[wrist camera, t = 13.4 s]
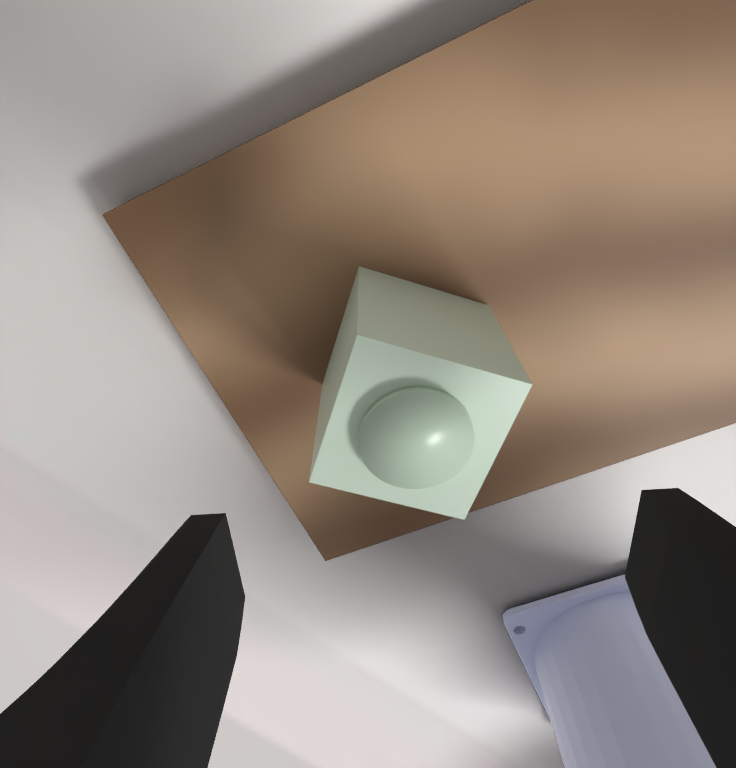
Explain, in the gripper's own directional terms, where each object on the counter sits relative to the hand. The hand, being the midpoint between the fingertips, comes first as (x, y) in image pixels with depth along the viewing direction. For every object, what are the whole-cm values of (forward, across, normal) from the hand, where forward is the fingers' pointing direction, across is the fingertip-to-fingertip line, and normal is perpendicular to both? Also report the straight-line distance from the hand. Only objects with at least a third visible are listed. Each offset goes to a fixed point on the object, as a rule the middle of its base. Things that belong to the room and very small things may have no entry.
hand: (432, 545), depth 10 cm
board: (+10, -4, -1) cm, 10 cm away
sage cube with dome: (+8, 0, 0) cm, 8 cm away
